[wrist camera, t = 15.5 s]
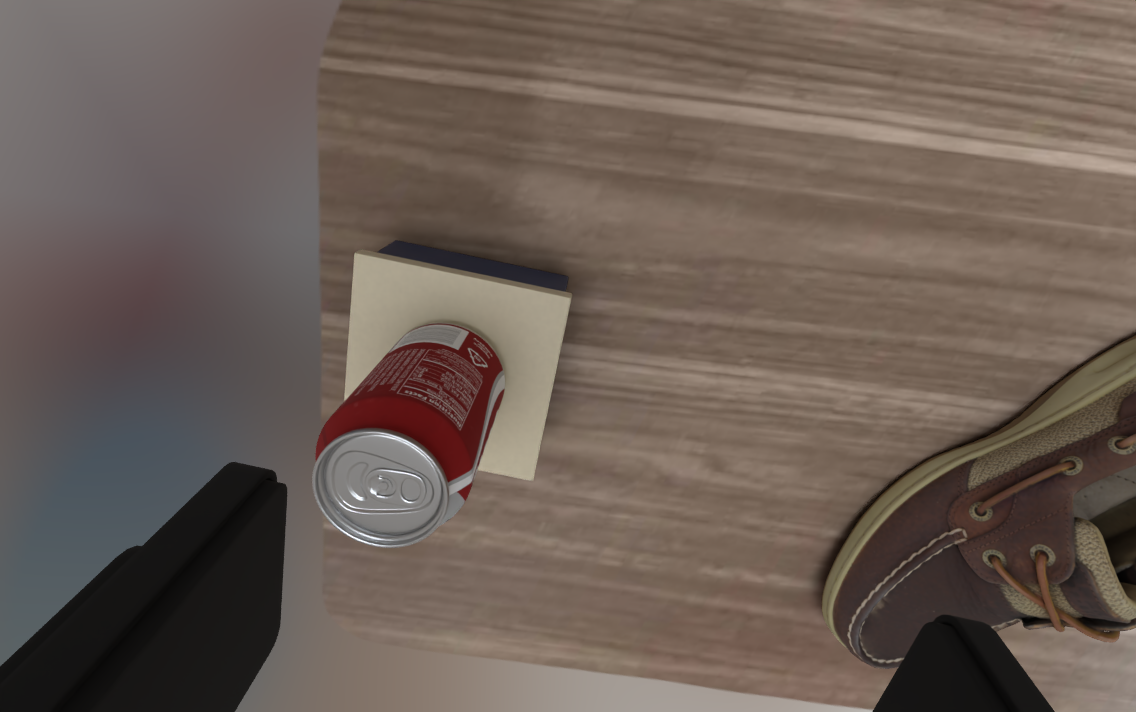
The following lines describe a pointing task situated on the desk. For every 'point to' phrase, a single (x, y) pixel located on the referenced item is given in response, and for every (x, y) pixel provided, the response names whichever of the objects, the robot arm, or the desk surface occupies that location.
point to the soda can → (410, 437)
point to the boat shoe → (1005, 527)
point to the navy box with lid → (480, 303)
